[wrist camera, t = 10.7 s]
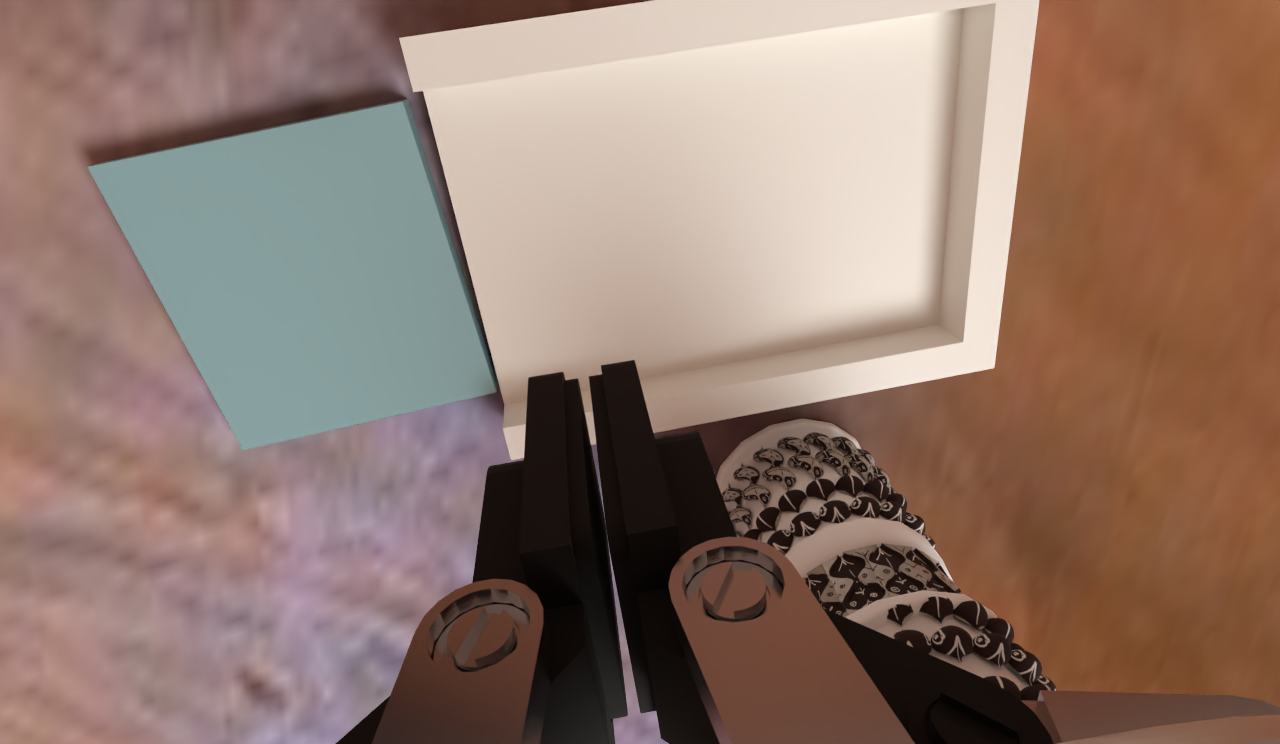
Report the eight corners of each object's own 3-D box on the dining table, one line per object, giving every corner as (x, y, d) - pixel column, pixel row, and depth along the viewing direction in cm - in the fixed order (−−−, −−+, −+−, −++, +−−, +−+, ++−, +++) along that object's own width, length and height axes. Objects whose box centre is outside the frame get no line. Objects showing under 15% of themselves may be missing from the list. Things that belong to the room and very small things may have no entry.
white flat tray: (413, 37, 24) (398, 38, 21) (992, -49, 26) (1046, -58, 23) (512, 423, 32) (511, 460, 29) (956, 340, 33) (994, 367, 30)
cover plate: (112, 159, 25) (87, 167, 24) (409, 97, 25) (402, 101, 24) (256, 430, 31) (242, 450, 29) (497, 375, 31) (496, 392, 30)
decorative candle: (695, 562, 37) (942, 1357, 15) (712, 413, 33) (1087, 1203, 11) (854, 553, 38) (1297, 1267, 16) (889, 409, 34) (1546, 1101, 12)
